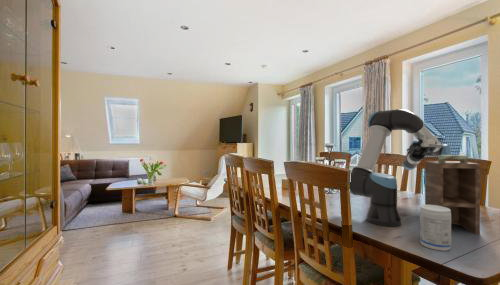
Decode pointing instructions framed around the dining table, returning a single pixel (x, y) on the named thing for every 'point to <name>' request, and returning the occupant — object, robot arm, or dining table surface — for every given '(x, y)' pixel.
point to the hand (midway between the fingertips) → (430, 137)
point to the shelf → (455, 189)
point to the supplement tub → (435, 227)
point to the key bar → (431, 143)
